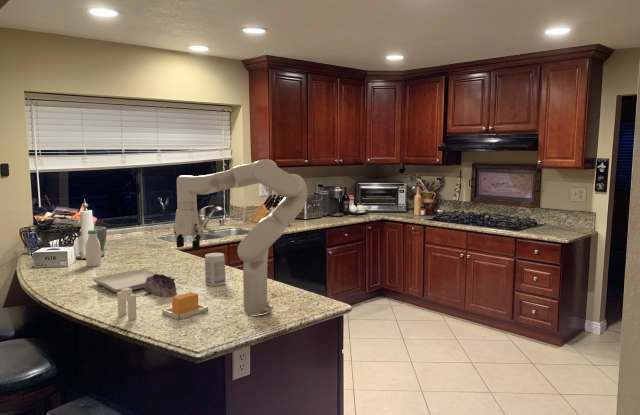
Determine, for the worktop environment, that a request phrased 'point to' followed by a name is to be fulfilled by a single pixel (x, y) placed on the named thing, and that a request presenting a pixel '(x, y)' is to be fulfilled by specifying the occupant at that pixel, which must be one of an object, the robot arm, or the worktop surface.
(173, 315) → the tray
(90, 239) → the milk bottle
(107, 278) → the square plate
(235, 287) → the worktop surface
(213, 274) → the supplement tub
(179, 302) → the orange block
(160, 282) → the geode
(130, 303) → the beige blocky piece
